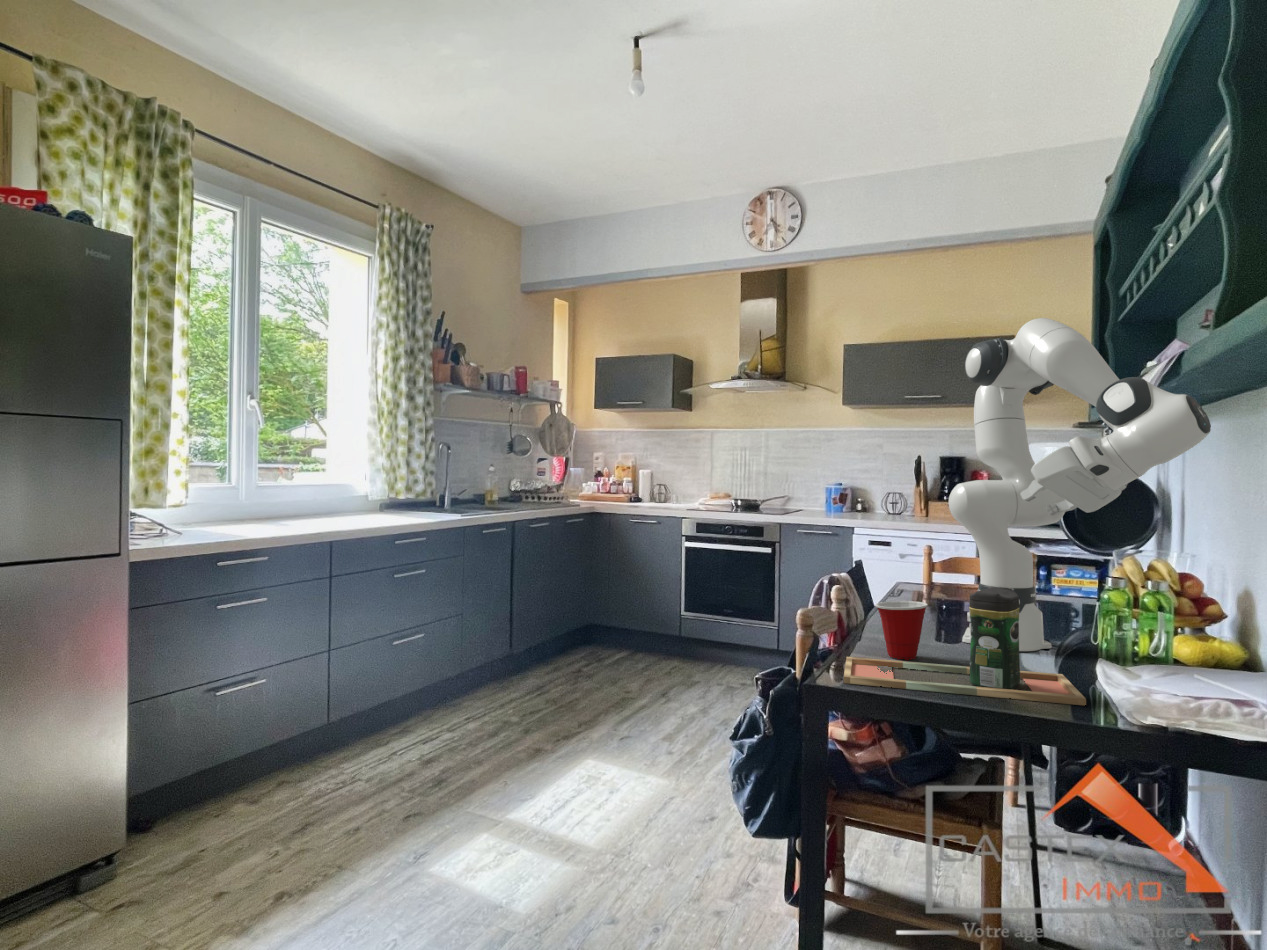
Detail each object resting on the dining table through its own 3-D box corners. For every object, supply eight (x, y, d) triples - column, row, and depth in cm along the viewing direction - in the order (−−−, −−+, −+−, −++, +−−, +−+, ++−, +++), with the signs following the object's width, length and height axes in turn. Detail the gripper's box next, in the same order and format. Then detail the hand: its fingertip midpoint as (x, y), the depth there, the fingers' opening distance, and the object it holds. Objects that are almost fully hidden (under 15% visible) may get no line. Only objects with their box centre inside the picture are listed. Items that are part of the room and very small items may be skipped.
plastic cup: (886, 648, 164) (886, 596, 164) (934, 656, 157) (934, 602, 157) (867, 657, 155) (867, 602, 156) (917, 666, 148) (917, 608, 148)
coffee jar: (981, 676, 141) (981, 583, 141) (1024, 684, 135) (1025, 587, 136) (962, 686, 134) (963, 588, 134) (1008, 695, 129) (1008, 593, 129)
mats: (852, 665, 149) (852, 664, 149) (1057, 682, 137) (1057, 681, 137) (850, 681, 137) (850, 680, 137) (1075, 701, 125) (1075, 700, 125)
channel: (846, 662, 151) (846, 656, 151) (1062, 680, 138) (1062, 674, 138) (843, 683, 136) (843, 676, 136) (1086, 705, 123) (1086, 698, 123)
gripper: (1123, 469, 135) (1055, 507, 143) (1072, 432, 124) (1001, 475, 132) (1142, 496, 131) (1070, 533, 139) (1090, 460, 120) (1015, 502, 128)
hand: (1036, 505), depth 136 cm, fingers open, 8 cm apart
